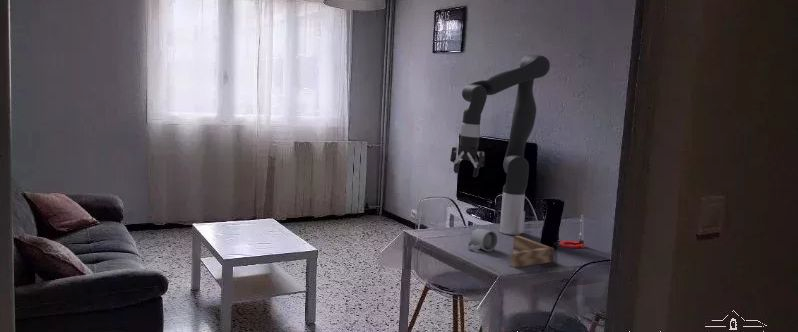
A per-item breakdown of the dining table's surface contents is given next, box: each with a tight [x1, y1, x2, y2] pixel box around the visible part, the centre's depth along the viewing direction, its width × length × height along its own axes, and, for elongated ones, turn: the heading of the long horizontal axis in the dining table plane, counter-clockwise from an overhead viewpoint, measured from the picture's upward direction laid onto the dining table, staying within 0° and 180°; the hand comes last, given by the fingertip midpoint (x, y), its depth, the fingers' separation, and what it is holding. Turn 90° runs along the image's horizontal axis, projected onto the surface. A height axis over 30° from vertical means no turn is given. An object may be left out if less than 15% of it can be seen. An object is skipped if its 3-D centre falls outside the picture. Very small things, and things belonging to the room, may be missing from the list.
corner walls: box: [510, 235, 555, 268], centre depth 221 cm, size 18×19×5 cm
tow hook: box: [559, 214, 586, 249], centre depth 242 cm, size 8×13×9 cm
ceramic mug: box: [466, 228, 499, 252], centre depth 229 cm, size 11×8×8 cm
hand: (465, 174), depth 243 cm, fingers open, 8 cm apart
